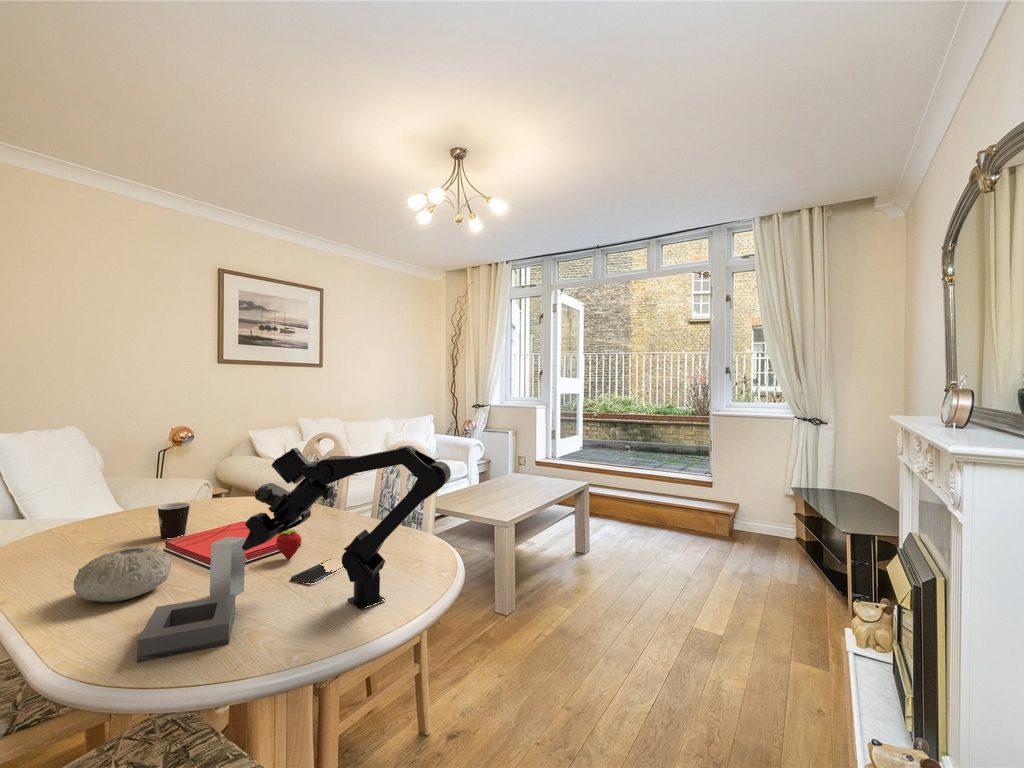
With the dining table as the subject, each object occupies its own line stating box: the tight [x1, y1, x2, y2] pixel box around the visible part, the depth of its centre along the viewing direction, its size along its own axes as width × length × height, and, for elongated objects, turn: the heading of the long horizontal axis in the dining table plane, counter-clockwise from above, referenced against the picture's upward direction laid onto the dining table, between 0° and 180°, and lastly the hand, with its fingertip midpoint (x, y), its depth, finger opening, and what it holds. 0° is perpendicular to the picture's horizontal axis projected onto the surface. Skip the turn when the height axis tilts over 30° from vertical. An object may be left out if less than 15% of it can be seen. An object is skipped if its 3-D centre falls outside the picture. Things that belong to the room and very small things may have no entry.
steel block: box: [209, 536, 247, 598], centre depth 108 cm, size 5×5×13 cm
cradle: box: [136, 594, 237, 663], centre depth 91 cm, size 14×14×4 cm
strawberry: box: [275, 528, 302, 560], centre depth 132 cm, size 6×8×10 cm
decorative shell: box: [73, 545, 172, 603], centre depth 108 cm, size 18×18×10 cm
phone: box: [290, 558, 343, 584], centre depth 123 cm, size 8×1×15 cm
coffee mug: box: [157, 502, 191, 540], centre depth 149 cm, size 12×9×10 cm
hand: (256, 542), depth 108 cm, fingers open, 9 cm apart
